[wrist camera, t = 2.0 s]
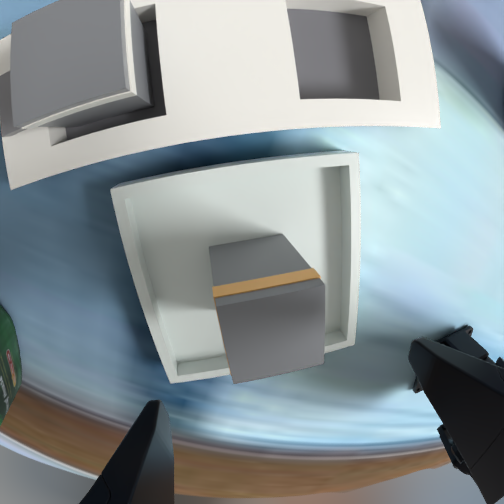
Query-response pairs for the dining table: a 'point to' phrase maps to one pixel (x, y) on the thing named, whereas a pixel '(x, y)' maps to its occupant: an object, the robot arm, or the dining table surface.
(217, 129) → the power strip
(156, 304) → the tray
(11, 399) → the coffee jar
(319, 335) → the plug
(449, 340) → the robot arm
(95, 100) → the twin plug
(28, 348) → the dining table surface
